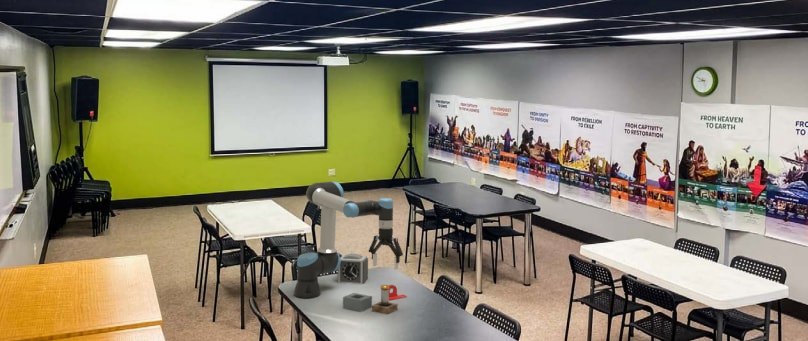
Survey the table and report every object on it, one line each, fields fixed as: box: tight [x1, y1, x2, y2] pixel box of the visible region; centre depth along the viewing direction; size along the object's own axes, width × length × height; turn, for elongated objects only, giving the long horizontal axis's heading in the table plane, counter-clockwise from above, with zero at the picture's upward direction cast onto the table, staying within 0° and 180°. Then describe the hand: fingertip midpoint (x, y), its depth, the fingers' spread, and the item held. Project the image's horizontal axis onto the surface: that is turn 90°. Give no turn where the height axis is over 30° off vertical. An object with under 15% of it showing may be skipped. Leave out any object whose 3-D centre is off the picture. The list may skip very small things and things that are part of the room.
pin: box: [380, 284, 390, 307], centre depth 338 cm, size 5×5×13 cm
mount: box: [371, 301, 399, 315], centre depth 339 cm, size 10×10×3 cm
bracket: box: [389, 284, 408, 302], centre depth 361 cm, size 12×4×8 cm, turn 121°
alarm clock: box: [337, 253, 369, 285], centre depth 391 cm, size 18×13×18 cm
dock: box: [342, 292, 373, 312], centre depth 343 cm, size 12×10×6 cm
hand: (385, 267), depth 337 cm, fingers open, 13 cm apart
